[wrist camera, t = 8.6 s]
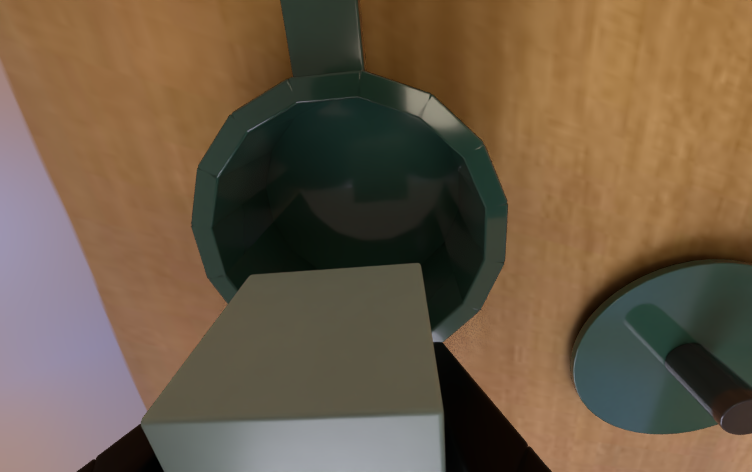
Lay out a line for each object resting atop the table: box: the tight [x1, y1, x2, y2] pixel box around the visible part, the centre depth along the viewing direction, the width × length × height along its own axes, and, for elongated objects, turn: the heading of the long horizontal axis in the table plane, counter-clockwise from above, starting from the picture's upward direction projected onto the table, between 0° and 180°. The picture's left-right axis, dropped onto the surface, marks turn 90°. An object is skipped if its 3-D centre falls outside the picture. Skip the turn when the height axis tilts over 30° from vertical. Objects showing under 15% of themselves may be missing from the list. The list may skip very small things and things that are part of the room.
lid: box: [570, 259, 752, 435], centre depth 19 cm, size 13×13×5 cm
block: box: [141, 263, 446, 472], centre depth 8 cm, size 4×4×4 cm
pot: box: [191, 0, 508, 343], centre depth 16 cm, size 12×17×6 cm
